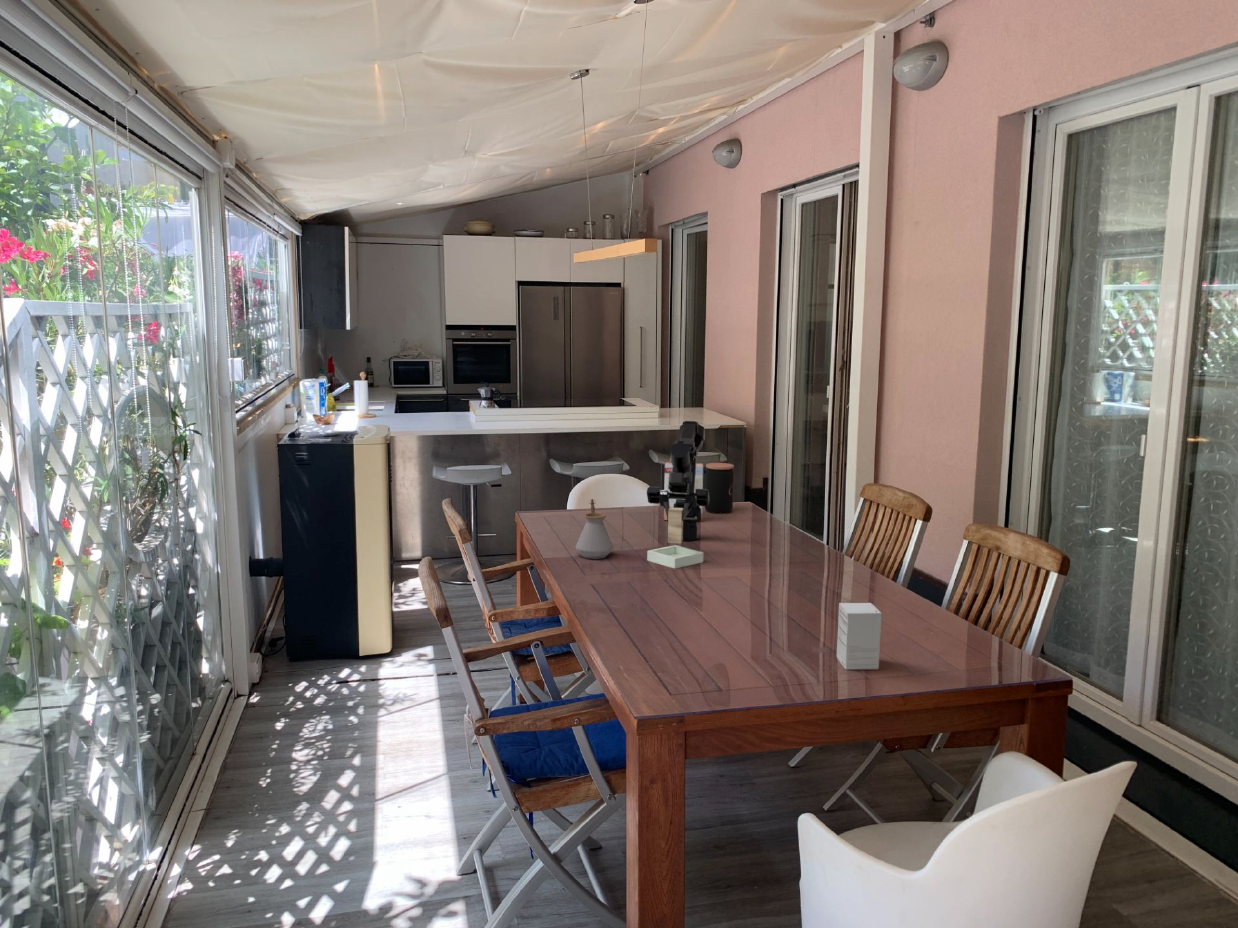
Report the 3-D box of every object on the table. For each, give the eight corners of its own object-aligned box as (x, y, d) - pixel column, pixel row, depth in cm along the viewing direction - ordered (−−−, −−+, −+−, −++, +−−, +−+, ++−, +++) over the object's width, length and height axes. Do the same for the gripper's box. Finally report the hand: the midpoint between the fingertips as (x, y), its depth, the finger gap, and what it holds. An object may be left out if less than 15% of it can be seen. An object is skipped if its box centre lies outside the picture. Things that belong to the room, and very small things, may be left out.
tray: (647, 560, 286) (647, 550, 286) (675, 554, 294) (675, 544, 293) (674, 568, 277) (674, 558, 277) (703, 562, 285) (703, 552, 284)
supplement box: (868, 657, 206) (872, 602, 205) (879, 670, 199) (882, 612, 197) (835, 657, 206) (838, 601, 204) (844, 670, 199) (847, 612, 197)
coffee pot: (614, 560, 285) (614, 512, 283) (576, 560, 284) (576, 512, 282) (609, 543, 306) (609, 498, 304) (574, 543, 305) (574, 498, 303)
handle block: (669, 539, 286) (670, 507, 285) (682, 540, 286) (683, 508, 284) (667, 542, 283) (668, 510, 281) (680, 543, 282) (681, 510, 280)
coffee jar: (733, 514, 355) (735, 467, 352) (705, 513, 355) (706, 466, 353) (731, 508, 366) (732, 463, 363) (703, 508, 366) (704, 462, 363)
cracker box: (702, 518, 346) (703, 462, 343) (702, 522, 341) (703, 465, 337) (664, 517, 348) (665, 461, 345) (663, 520, 342) (664, 464, 339)
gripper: (648, 460, 286) (641, 503, 277) (709, 463, 282) (704, 506, 274) (651, 481, 295) (645, 523, 286) (711, 484, 291) (706, 526, 282)
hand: (675, 519), depth 282 cm, fingers closed on handle block, 4 cm apart
